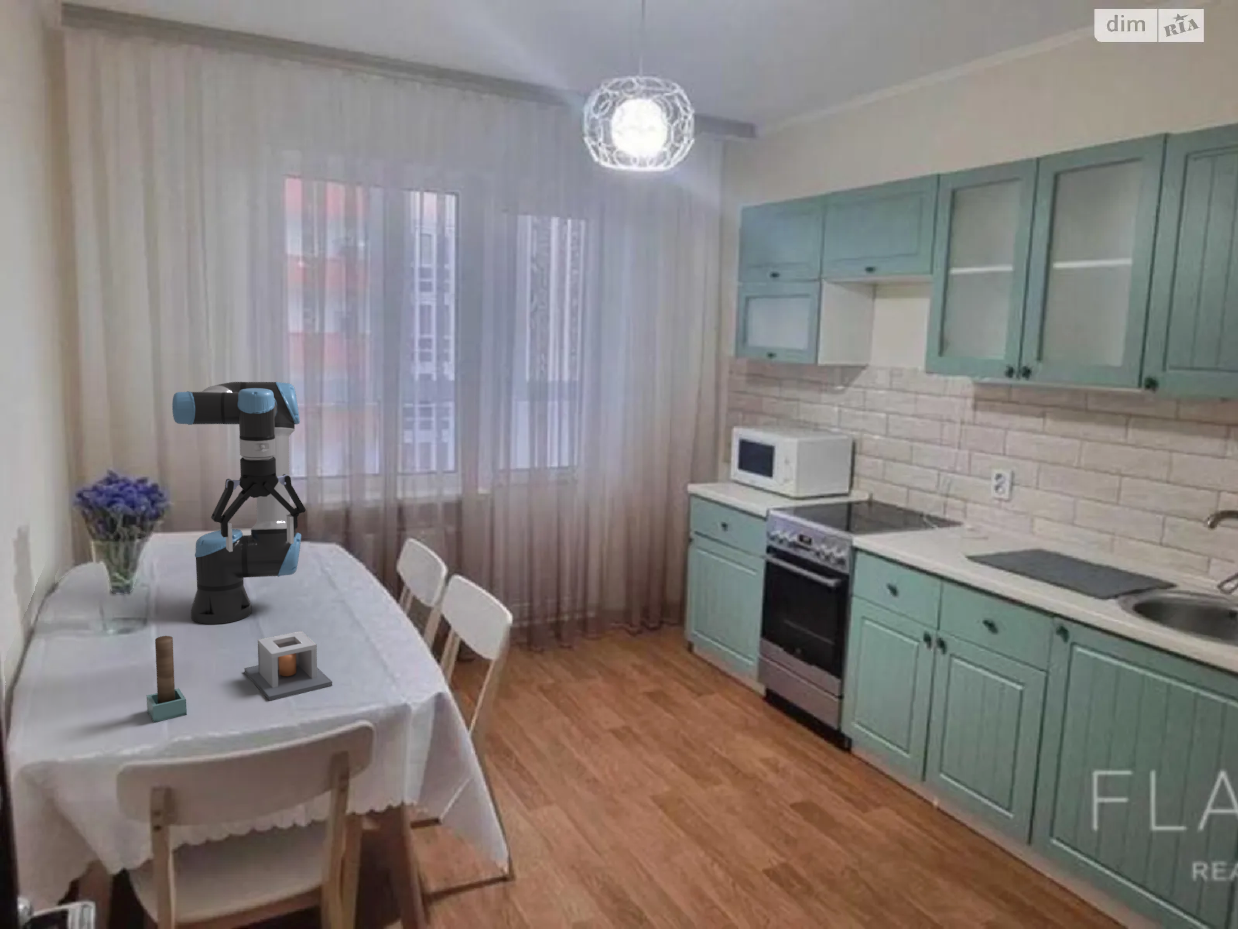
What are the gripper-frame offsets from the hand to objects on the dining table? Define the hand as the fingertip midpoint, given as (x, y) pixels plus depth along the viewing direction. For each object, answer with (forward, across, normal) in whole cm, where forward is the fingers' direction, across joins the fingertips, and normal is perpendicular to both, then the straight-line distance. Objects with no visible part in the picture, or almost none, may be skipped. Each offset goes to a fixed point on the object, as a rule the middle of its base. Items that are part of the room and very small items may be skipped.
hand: (260, 546), depth 200 cm
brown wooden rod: (+29, -24, -15) cm, 40 cm away
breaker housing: (+29, +2, -11) cm, 31 cm away
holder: (+29, -24, -14) cm, 40 cm away
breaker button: (+28, +2, -11) cm, 30 cm away
